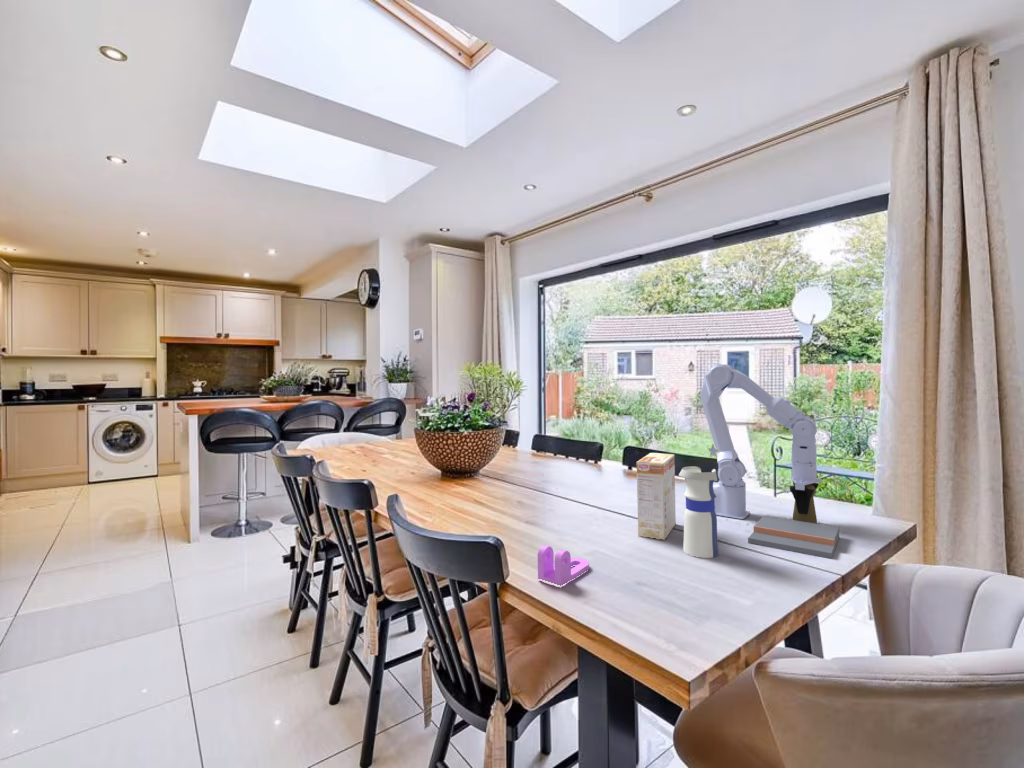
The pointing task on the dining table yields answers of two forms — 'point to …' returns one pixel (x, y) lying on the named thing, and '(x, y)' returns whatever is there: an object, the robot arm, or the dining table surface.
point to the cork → (811, 513)
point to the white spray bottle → (700, 511)
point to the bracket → (559, 566)
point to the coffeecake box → (656, 495)
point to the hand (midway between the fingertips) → (804, 511)
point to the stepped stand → (795, 536)
